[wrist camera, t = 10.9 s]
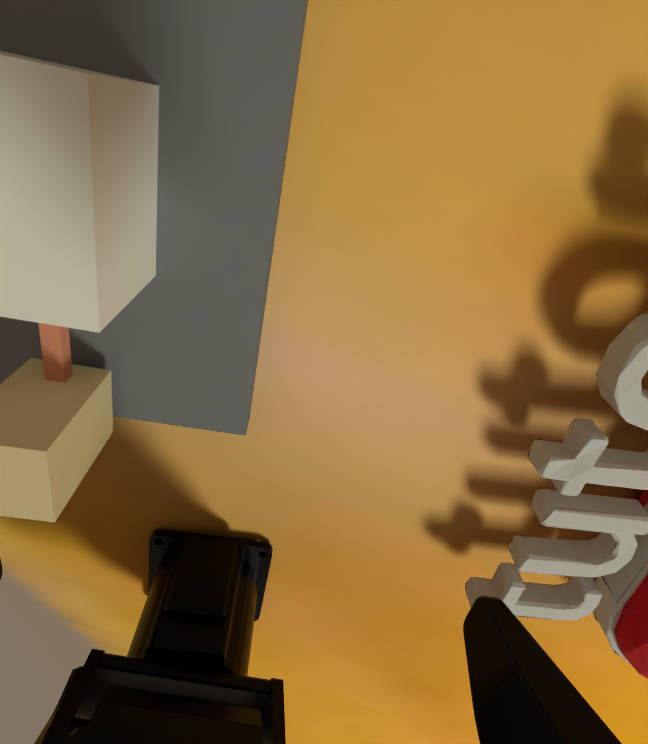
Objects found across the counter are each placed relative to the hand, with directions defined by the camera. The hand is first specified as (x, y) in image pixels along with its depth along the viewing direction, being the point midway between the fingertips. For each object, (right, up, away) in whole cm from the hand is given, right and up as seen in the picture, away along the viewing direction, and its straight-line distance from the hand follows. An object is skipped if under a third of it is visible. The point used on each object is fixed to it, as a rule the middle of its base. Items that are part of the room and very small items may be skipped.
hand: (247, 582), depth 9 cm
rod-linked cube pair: (-8, +8, +8) cm, 13 cm away
